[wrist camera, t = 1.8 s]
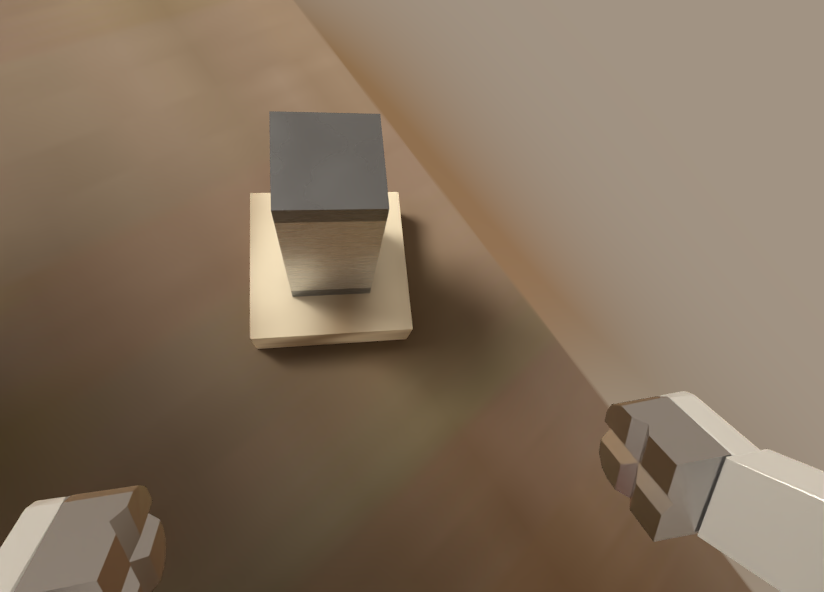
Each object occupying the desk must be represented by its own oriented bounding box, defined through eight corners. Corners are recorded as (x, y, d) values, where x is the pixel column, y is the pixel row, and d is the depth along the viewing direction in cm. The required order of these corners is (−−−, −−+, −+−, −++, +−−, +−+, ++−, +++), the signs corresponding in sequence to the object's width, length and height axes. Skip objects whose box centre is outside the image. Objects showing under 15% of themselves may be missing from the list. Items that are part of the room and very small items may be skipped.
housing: (292, 296, 27) (270, 210, 17) (290, 226, 28) (269, 111, 19) (370, 293, 27) (389, 208, 18) (364, 225, 29) (380, 114, 19)
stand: (256, 348, 28) (249, 339, 25) (256, 213, 31) (250, 193, 28) (406, 339, 29) (412, 329, 27) (393, 211, 32) (398, 191, 30)
